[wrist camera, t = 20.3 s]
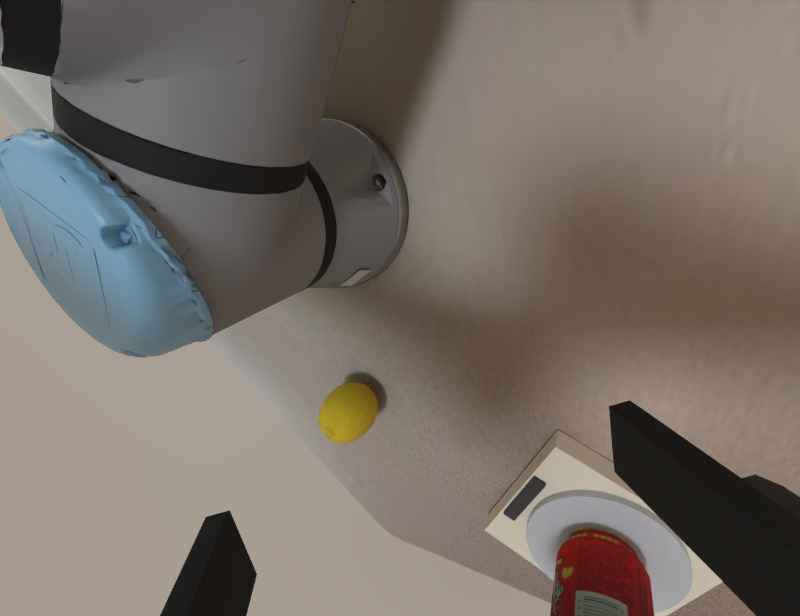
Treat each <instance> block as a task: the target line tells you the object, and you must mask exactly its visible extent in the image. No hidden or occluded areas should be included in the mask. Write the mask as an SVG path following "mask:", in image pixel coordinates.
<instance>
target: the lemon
mask: <svg viewBox="0 0 800 616" xmlns="http://www.w3.org/2000/svg"><path fill="white" fill-rule="evenodd" d="M377 412H378V403H377V398H376V396H375V394H374V393H373V391H372V390H371V389H370V388H369V387H367V386H366V385H364V384H362V383H357V382H350V383H345V384H343V385H341V386H339V387H337V388H336V389H334V390H333V391H332V392H331V393H330V394H329V395H328V396H327V398H326V399H325V401H324V402H323V404H322V406H321V409H320V411H319V425H320V428H321V430H322V432H323V434H324V435H325V436H326V437H327V438H328V439H330V440H332V441H334V442H337V443H348V442H352V441H354V440H356V439H358V438H359V437H361V436H362V435H364V434H365V433H366V432H367V431H368V430H369V428H370V427H371V426H372V424H373V423H374V421H375V418H376V416H377Z"/></svg>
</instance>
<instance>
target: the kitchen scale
mask: <svg viewBox="0 0 800 616" xmlns="http://www.w3.org/2000/svg"><path fill="white" fill-rule="evenodd" d="M584 527H596V528H601V529H605V530H608V531H611V532H614V533H616V534H618V535H619V536H621V537H622V538H623V539H625V540H626V541H627V542H628V543H629V544H630V545H631V546H632V547H633V548H634V549H635V551H636V553H637V555H638V558H639V560H640V561H641V562H642V564H643V565H644V567H645V569H646V571H647V573H648V575H649V577H650V581H651V591H652V599H653V608H654V616H667V615H669V614H671V613H672V612H674V611H676V610H677V609H679V608H681V607H682V606H684V605H685V604H687V603H689V602H690V601H692V600H694V599H695V598H697V597H699V596H700V595H702V594H704V593H705V592H707V591H709V590H710V589H712V588H714V587H715V586H717V585H719V584H720V583H722V582H723V581H722V580H721V579H720V578H719V577H718V576H717V575H716V574H715V573H714V572H713V571H712V570H711V569H710V568H709V567H708V566H707V565H706V564H705V563H704V562H703V561H702V560H701V559H700V558H699V557H698V556H697V555H696V554H695V553H694V552H693V551H692V550H691V549H690V548H689V547H688V546H687V545H686V544H685V543H684V542H683V541H682V540H681V539H680V538H679V537H678V536H677V535H676V534H675V533H674V532H673V531H672V530H671V529H670V528H669V527H668V526H667V525H666V524H665V523H664V522H663V521H662V520H661V519H660V518H659V517H658V516H657V515H656V514H655V513H654V512H653V511H652V510H651V509H650V508H649V507H648V506H647V505H646V503H645V502H644V501H643V500H642V499H641V498H640V497H639V496H638V495H637V494H636V493H635V492H634V491H633V490H632V489H631V488H630V487H629V486H628V485H627V484H626V483H625V482H624V481H623V480H622V479H621V478H620V477H619V476H618V475H617V474H616V473H615V472H614V463H613V462H611V461H609V460H608V459H606V458H604V457H603V456H601V455H599V454H598V453H596V452H594V451H593V450H591V449H589V448H588V447H586V446H584V445H583V444H581V443H579V442H578V441H576V440H574V439H573V438H571V437H569V436H568V435H566V434H564V433H563V432H561V431H559V430H557V432H556V433H555V434H554V435H553V436H552V438H551V439H550V440H549V441H548V442H547V444H546V445H545V446H544V447H543V448H542V450H541V451H540V452H539V453H538V455H537V456H536V457H535V458H534V459H533V461H532V462H531V463H530V464H529V465H528V467H527V468H526V469H525V470H524V472H523V473H522V474H521V475H520V476H519V478H518V479H517V480H516V481H515V482H514V484H513V485H512V486H511V487H510V488H509V490H508V491H507V492H506V493H505V495H504V496H503V497H502V498H501V499H500V501H499V502H498V503H497V504H496V505H495V507H494V508H493V509H492V510H491V512H490V514H489V517H488V521H487V524H486V527H485V531H486V532H488V533H489V534H491V535H492V536H493V537H495V538H496V539H498V540H499V541H501V542H502V543H503V544H505V545H506V546H508V547H509V548H511V549H512V550H514V551H515V552H516V553H518V554H519V555H521V556H522V557H524V558H525V559H526V560H528V561H529V562H531V563H532V564H534V565H535V566H536V567H538V568H539V569H541V570H542V571H543V572H544V573H545V574H546V575H547V576H548V577H549V578H550V579H551V580H552V581H554V577H555V568H556V557H557V554H558V551H559V549H560V547H561V546H562V544H563V543H564V542H565V541H567V539H568V537H569V535H570V534H571V533H572V532H573V531H575V530H577V529H579V528H584Z"/></svg>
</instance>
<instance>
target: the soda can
mask: <svg viewBox="0 0 800 616" xmlns="http://www.w3.org/2000/svg"><path fill="white" fill-rule="evenodd" d="M550 616H654V608H653V599H652V591H651V581H650V577H649V575H648V573H647V571H646V569H645V567H644V565H643V564H642V562H641V561H640V560H639V558H638V555H637V553H636V551H635V549H634V548H633V547H632V546H631V545H630V544H629V543H628V542H627V541H626V540H625V539H623V538H622V537H621V536H619V535H618V534H616V533H614V532H611V531H608V530H605V529H601V528H596V527H584V528H579V529H577V530H575V531H573V532H572V533H571V534H570V535H569V537H568V539H567V541H565V542H564V543H563V544H562V546H561V547H560V549H559V551H558V554H557V557H556V568H555V577H554V586H553V595H552V605H551V615H550Z"/></svg>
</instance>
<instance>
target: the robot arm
mask: <svg viewBox="0 0 800 616" xmlns="http://www.w3.org/2000/svg"><path fill="white" fill-rule="evenodd" d="M355 1H356V0H0V66H5V67H9V68H14V69H18V70H23V71H28V72H32V73H37V74H41V75H46V76H50V77H51V92H52V104H53V117H54V131H53V132H46V131H45V130H43V129H33V128H32V129H27V130H26V131H24V132H23V133H20V134H15V135H11V136H9V137H7V138H5V139H3V140H2V141H1V142H0V205H1V208H2V210H3V213H4V216H5V218H6V221H7V223H8V225H9V227H10V230H11V231H12V234H13V236H14V238H15V240H16V242H17V244H18V246H19V247H20V249H21V251H22V253H23V255H24V256H25V258H26V260H27V261H28V263H29V265H30V266H31V268H32V269H33V270H34V272H35V274H36V275H37V277H38V278H39V280H40V281H41V283H42V284H43V285H44V287H45V288H46V289H47V291H48V292H49V293H50V295H51V296H52V297H53V298H54V300H55V301H56V302H57V303H58V304H59V305H60V307H61V308H62V309H63V310H64V311H65V312H66V313H67V314H68V316H69V317H70V318H71V319H72V320H73V321H75V323H76V324H78V326H80V327H81V328H82V329H83V330H84V331H85V332H87V333H88V334H89V335H90V336H92V337H93V338H94V339H96V340H97V341H98V342H100V343H101V344H103V345H105V346H106V347H108V348H110V349H112V350H114V351H116V352H119V353H121V354H125V355H128V356H135V357H148V356H151V357H152V356H159V355H162V354H165V353H168V352H170V351H173V350H175V349H177V348H180V347H183V346H185V345H188V344H191V343H193V342H202V341H205V340H207V339H209V338H210V337H211V335H213V334H215V333H217V332H219V331H221V330H223V329H225V328H227V327H229V326H231V325H233V324H235V323H237V322H239V321H241V320H243V319H245V318H247V317H249V316H251V315H253V314H255V313H257V312H259V311H261V310H263V309H265V308H267V307H269V306H271V305H273V304H275V303H277V302H279V301H281V300H283V299H285V298H287V297H290V296H292V295H294V294H296V293H298V292H300V291H302V290H304V289H306V288H345V287H352V286H356V285H359V284H361V283H364V282H366V281H367V280H369V279H371V278H373V277H375V276H376V275H378V274H379V273H381V272H382V271H383V270H384V269H386V268H387V267H388V266H389V264H390V263H391V262H392V261H393V259H394V258H395V257H396V255H397V253H398V251H399V250H400V247H401V245H402V243H403V240H404V236H405V232H406V228H407V220H408V202H407V195H406V190H405V185H404V182H403V179H402V176H401V173H400V171H399V169H398V166H397V165H396V163H395V161H394V159H393V157H392V156H391V154H390V153H389V151H388V150H387V149H386V148H385V146H384V145H383V144H382V143H381V142H380V141H379V140H378V139H377V138H376V137H375V136H374V135H373V134H371V133H370V132H369V131H367V130H366V129H364V128H362V127H360V126H358V125H356V124H354V123H351V122H348V121H344V120H337V119H328V118H321V117H322V113H323V109H324V105H325V101H326V98H327V94H328V90H329V86H330V82H331V78H332V75H333V71H334V67H335V63H336V59H337V55H338V52H339V48H340V44H341V40H342V36H343V32H344V29H345V25H346V21H347V17H348V13H349V9H350V6H351V3H354V2H355ZM609 410H610V423H611V435H612V448H613V460H614V472H615V473H616V474H617V475H618V476H619V477H620V478H621V479H622V480H623V481H624V482H625V483H626V484H627V485H628V486H629V487H630V488H631V489H632V490H633V491H634V492H635V493H636V494H637V495H638V496H639V497H640V498H641V499H642V500H643V501H644V502H645V503H646V505H647V506H648V507H649V508H650V509H651V510H652V511H653V512H654V513H655V514H656V515H657V516H658V517H659V518H660V519H661V520H662V521H663V522H664V523H665V524H666V525H667V526H668V527H669V528H670V529H671V530H672V531H673V532H674V533H675V534H676V535H677V536H678V537H679V538H680V539H681V540H682V541H683V542H684V543H685V544H686V545H687V546H688V547H689V548H690V549H691V550H692V551H693V552H694V553H695V554H696V555H697V556H698V557H699V558H700V559H701V560H702V561H703V562H704V563H705V564H706V565H707V566H708V567H709V568H710V569H711V570H712V571H713V572H714V573H715V574H716V575H717V576H718V577H719V578H720V579H721V580H722V581H723V582H724V583H725V584H726V585H727V586H728V587H729V588H730V589H731V590H732V591H733V592H734V593H735V595H736V596H737V597H738V598H739V599H740V600H741V601H742V602H743V603H744V604H745V605H746V606H747V607H748V608H749V609H750V610H751V611H752V612H753V613H754V614H755V615H756V616H800V497H799V496H797V495H796V494H794V493H793V492H791V491H789V490H788V489H786V488H785V487H783V486H781V485H779V484H776V483H774V482H772V481H769V480H767V479H764V478H762V477H759V476H757V475H752V476H749V477H745V478H742V479H741V478H740V477H739V476H737V475H736V474H734V473H733V472H731V471H730V470H729V469H727V468H726V467H724V466H723V465H721V464H720V463H719V462H717V461H716V460H714V459H713V458H711V457H710V456H708V455H707V454H706V453H704V452H703V451H701V450H700V449H698V448H697V447H696V446H694V445H693V444H691V443H690V442H688V441H687V440H686V439H684V438H683V437H681V436H680V435H678V434H677V433H676V432H674V431H673V430H671V429H670V428H668V427H667V426H666V425H664V424H663V423H661V422H660V421H658V420H657V419H656V418H654V417H653V416H651V415H650V414H648V413H647V412H646V411H644V410H643V409H641V408H640V407H638V406H637V405H636V404H634V403H633V402H631V401H627V402H623V403H619V404H616V405H612V406H609ZM256 575H257V574H256V571H255V569H254V567H253V564H252V562H251V560H250V557H249V555H248V553H247V550H246V548H245V545H244V543H243V541H242V538H241V536H240V534H239V531H238V529H237V527H236V524H235V522H234V520H233V517H232V515H231V513H230V511H226V512H223V513H219V514H215V515H212V516H208V517H206V518H205V520H204V522H203V525H202V527H201V529H200V531H199V533H198V535H197V538H196V540H195V542H194V544H193V546H192V548H191V551H190V553H189V555H188V557H187V559H186V561H185V564H184V566H183V568H182V570H181V572H180V575H179V576H178V579H177V581H176V583H175V585H174V587H173V589H172V591H171V594H170V596H169V598H168V600H167V602H166V604H165V607H164V609H163V611H162V613H161V615H160V616H246V614H247V611H248V606H249V603H250V599H251V595H252V591H253V587H254V583H255V579H256Z"/></svg>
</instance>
